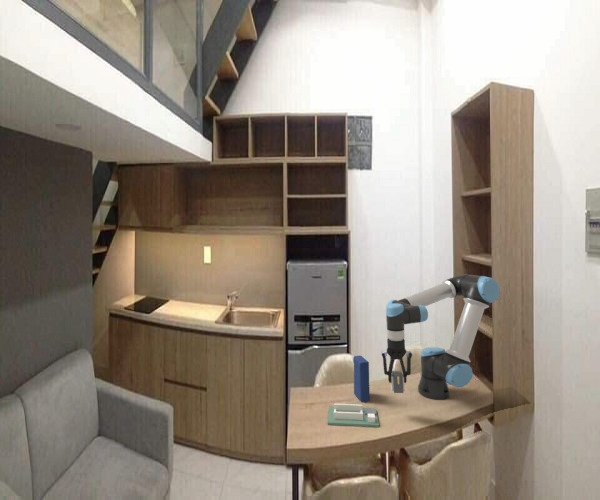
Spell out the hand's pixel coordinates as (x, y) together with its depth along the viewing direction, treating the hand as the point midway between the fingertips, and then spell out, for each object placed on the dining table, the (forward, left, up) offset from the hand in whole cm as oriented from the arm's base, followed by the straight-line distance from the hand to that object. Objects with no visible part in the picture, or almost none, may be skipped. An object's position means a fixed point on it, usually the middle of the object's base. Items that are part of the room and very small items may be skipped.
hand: (397, 389), depth 150 cm
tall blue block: (+15, -17, -13) cm, 26 cm away
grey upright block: (0, 0, 0) cm, 0 cm away
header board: (+20, +2, -13) cm, 24 cm away
